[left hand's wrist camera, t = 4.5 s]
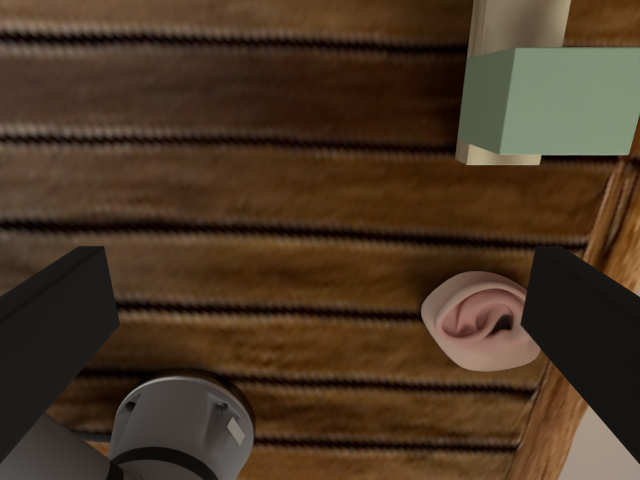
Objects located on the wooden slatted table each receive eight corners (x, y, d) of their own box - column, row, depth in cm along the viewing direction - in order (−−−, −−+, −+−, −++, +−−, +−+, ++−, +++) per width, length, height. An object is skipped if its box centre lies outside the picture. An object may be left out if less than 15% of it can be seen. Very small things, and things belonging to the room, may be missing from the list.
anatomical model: (582, 374, 39) (469, 416, 40) (558, 349, 42) (456, 389, 44) (543, 261, 34) (419, 314, 36) (521, 245, 38) (410, 293, 40)
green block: (457, 140, 32) (499, 155, 25) (466, 58, 30) (515, 47, 22) (556, 140, 32) (629, 155, 25) (573, 58, 30) (658, 47, 22)
